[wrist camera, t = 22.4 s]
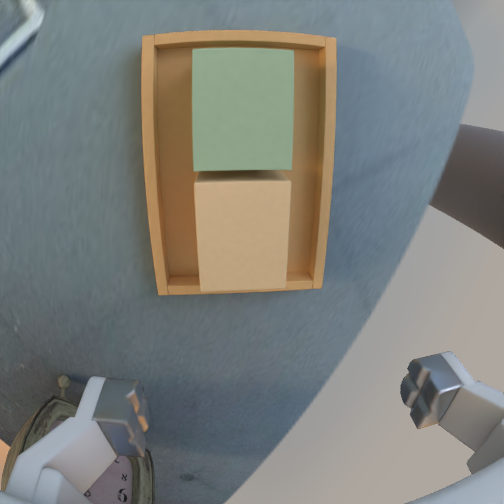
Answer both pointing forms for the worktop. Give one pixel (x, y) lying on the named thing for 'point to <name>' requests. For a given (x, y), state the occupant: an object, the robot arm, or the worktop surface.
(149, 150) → the tray
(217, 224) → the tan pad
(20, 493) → the robot arm
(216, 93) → the sage pad
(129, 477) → the tabletop clock
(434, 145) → the worktop surface
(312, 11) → the worktop surface
